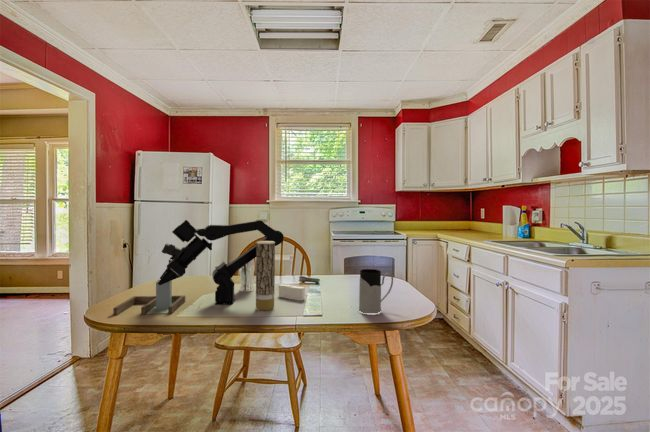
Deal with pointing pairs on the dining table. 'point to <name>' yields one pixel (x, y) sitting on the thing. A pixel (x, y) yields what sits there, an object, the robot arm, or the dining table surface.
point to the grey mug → (371, 290)
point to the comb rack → (150, 305)
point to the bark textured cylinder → (265, 275)
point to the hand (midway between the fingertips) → (159, 281)
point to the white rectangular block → (291, 292)
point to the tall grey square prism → (163, 295)
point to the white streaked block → (247, 276)
